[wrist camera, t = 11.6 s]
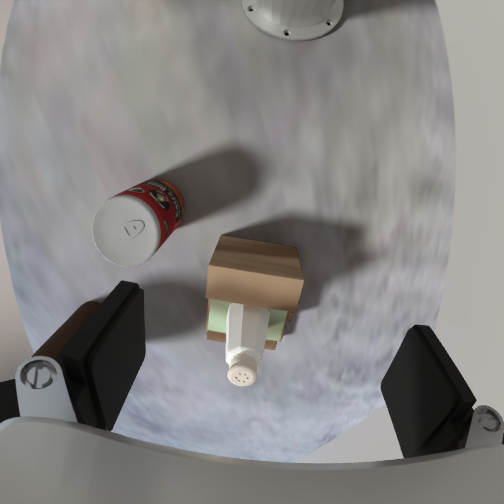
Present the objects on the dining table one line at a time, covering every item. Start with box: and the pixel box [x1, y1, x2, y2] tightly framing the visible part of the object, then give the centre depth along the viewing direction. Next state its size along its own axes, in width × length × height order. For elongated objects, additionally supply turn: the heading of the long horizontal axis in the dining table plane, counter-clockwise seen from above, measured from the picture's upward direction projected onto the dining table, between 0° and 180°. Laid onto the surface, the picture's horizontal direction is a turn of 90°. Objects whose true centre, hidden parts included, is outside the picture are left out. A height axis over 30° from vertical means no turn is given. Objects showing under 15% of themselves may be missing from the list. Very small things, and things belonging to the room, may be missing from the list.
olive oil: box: [32, 302, 101, 359], centre depth 36 cm, size 11×11×25 cm
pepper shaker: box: [226, 303, 270, 386], centre depth 33 cm, size 5×5×11 cm
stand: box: [205, 235, 304, 350], centre depth 39 cm, size 15×11×10 cm
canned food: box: [92, 179, 184, 267], centre depth 35 cm, size 8×8×11 cm
